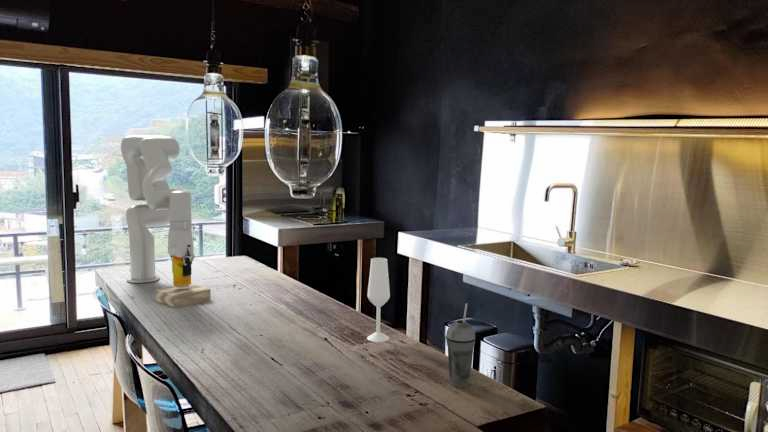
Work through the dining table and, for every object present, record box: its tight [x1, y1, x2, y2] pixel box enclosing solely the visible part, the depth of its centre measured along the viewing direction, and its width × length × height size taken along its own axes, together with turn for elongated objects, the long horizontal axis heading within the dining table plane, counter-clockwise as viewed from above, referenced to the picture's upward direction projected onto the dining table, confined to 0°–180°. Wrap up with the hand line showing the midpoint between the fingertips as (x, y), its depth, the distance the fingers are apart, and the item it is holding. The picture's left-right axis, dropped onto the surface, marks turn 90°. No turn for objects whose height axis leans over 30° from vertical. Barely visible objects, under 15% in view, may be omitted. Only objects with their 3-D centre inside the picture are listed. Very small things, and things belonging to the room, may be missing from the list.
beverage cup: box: [445, 302, 477, 388], centre depth 138 cm, size 7×7×20 cm
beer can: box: [172, 248, 192, 288], centre depth 208 cm, size 6×6×15 cm
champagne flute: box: [366, 257, 391, 343], centre depth 170 cm, size 7×7×24 cm
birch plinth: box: [154, 283, 212, 309], centre depth 210 cm, size 14×14×4 cm
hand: (181, 273), depth 209 cm, fingers closed on beer can, 6 cm apart
